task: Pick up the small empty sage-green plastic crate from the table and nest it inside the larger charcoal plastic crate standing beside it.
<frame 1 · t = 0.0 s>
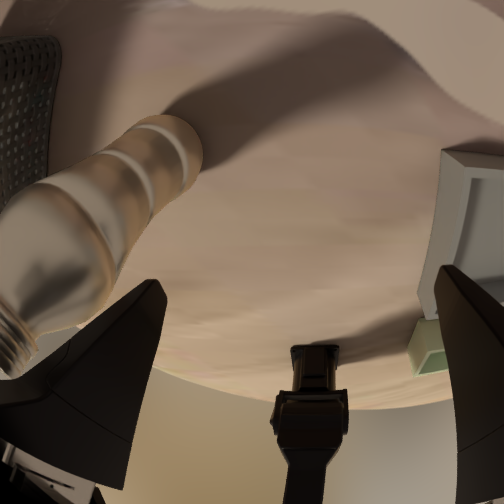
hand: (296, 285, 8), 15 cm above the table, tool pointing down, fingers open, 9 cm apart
plastic bottle: (174, 147, 21), on the table
storage bin: (10, 139, 22), on the table
large crate: (490, 229, 19), on the table
small crate: (440, 329, 29), on the table
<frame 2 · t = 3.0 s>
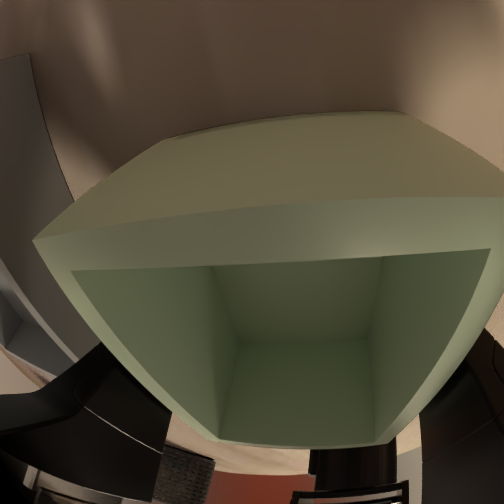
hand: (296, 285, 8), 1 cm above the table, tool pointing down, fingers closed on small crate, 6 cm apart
storage bin: (151, 442, 47), on the table
large crate: (12, 244, 11), on the table
small crate: (297, 258, 9), on the table, touching gripper
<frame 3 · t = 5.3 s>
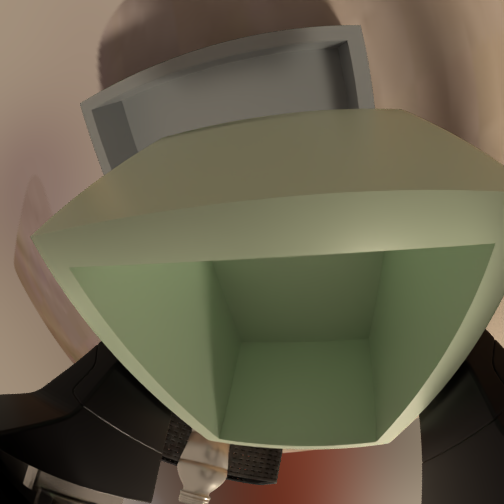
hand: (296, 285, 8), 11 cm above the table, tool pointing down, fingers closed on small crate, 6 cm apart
plastic bottle: (225, 380, 37), on the table
storage bin: (217, 421, 53), on the table
large crate: (244, 168, 18), on the table
small crate: (298, 257, 9), point 10 cm above the table, touching gripper
when the fingers open (3 cm above the table, at t = 7.5 s): small crate drops 2 cm, resting on large crate.
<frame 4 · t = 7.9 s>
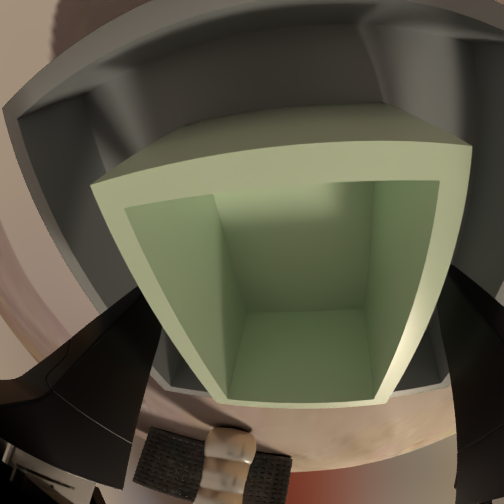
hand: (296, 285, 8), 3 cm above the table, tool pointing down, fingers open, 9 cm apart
plastic bottle: (234, 428, 30), on the table
storage bin: (220, 450, 46), on the table
large crate: (297, 222, 11), on the table
small crate: (298, 229, 10), point 1 cm above the table, touching large crate
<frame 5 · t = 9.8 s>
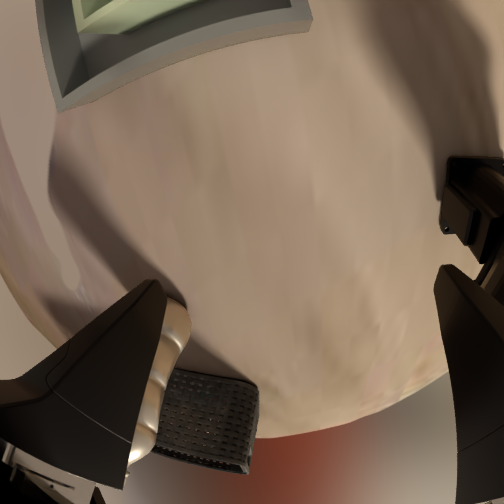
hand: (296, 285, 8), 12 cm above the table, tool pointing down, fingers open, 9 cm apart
plastic bottle: (169, 306, 29), on the table
storage bin: (181, 388, 44), on the table
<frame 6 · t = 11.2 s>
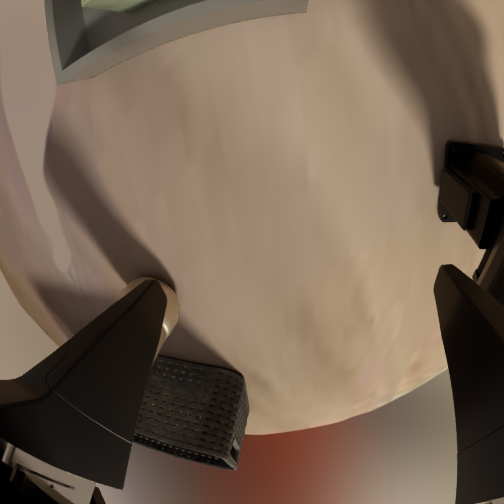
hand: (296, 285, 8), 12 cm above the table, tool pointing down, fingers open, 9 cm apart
plastic bottle: (158, 290, 28), on the table
storage bin: (169, 378, 43), on the table
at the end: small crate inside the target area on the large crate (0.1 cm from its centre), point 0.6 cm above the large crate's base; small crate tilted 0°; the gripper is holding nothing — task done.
